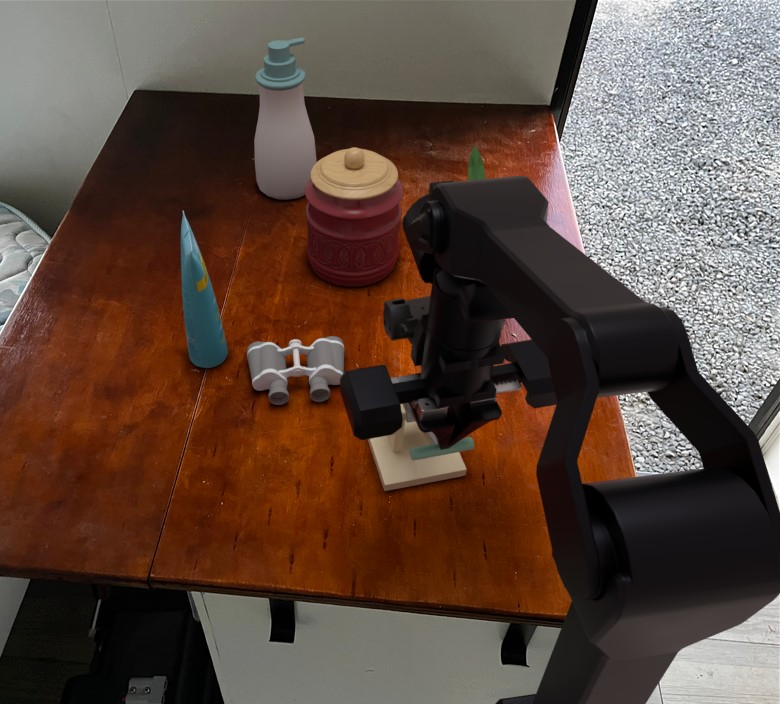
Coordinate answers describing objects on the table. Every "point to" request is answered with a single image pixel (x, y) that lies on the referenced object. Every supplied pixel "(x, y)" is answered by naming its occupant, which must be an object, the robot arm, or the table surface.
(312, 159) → the soap bottle
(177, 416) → the table surface
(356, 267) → the kitchen canister
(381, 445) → the toaster bracket
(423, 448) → the lever
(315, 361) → the binoculars
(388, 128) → the table surface
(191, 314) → the tube
